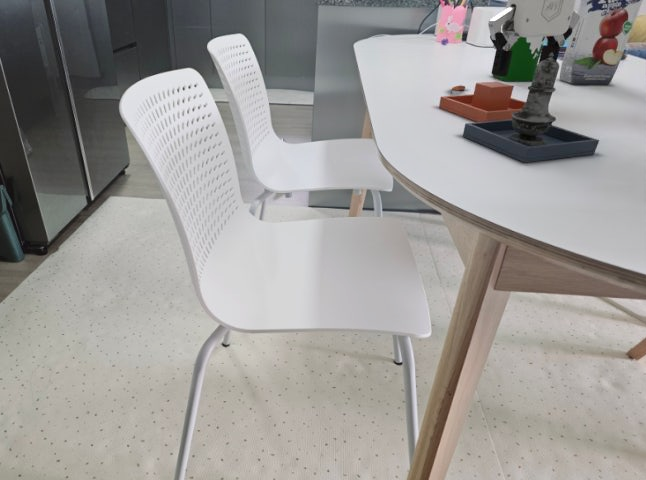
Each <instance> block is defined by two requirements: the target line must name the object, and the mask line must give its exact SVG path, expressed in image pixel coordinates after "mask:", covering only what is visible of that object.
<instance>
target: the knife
mask: <svg viewBox="0 0 646 480" xmlns="http://www.w3.org/2000/svg"><path fill="white" fill-rule="evenodd" d="M465 89H466V86H465V85H461V84H460V85H456V86H453V87H452V88H451V91H450V92H451V95H449V96H457V95H466V92H464V91H462V90H465Z"/></svg>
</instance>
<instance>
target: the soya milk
mask: <svg viewBox="0 0 646 480" xmlns="http://www.w3.org/2000/svg"><path fill="white" fill-rule="evenodd" d="M544 42H545V37H521V36H520V37H519V38H518V39H517V41H516V42H515V43H514V44H513V46H512V47H511V48H510V49H509V50H511V51H512V57H511V61H510V66H509V70H508V74H507V76H506V77H501V76H496V75H492V77H494V78H496V79H499V80H501V81H503V82H532V81H533V78H534V74H535V71H536V67H537V65H538V63H539V59H540V55H541V52H542V48H543V45H544Z"/></svg>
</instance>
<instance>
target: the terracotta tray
mask: <svg viewBox="0 0 646 480" xmlns="http://www.w3.org/2000/svg"><path fill="white" fill-rule="evenodd" d="M473 95H474V93H473V94H472V93H471V94H464V95H457V96H450V95H445V96H440V100H439V105H438V109H442V110H445V111H447V112H450V113H451V114H455V115H458V116H461V117H463V118H466V119H468V120H471V121H474V122H486V121H497V120H508V119H513V118H512V116H511V114H512V113H514V112H519V111H520V110H522V108H523V107H524V105H525V103H526V101H524V100H520V99H516V98H513V97H511V98H510V102H509V106H508V110H501V111H489V112H488V111H485V110H482V109H479V108H476V107H473V106H471V104H472V99H473Z"/></svg>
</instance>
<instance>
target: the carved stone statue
mask: <svg viewBox="0 0 646 480" xmlns="http://www.w3.org/2000/svg"><path fill="white" fill-rule="evenodd" d="M553 56H554V55H553V52H551V53H550V55H549V58H548V59H546V60H543V61H541V62H540V63H539V62H538V64H537V67H536V71H535V74H534V78H533V81H531V85H528V86H527V90H528V94H527V96H526V101H525V102H526V103H525V105H524V107H523V108H522V110H520V111H519V112H514V113H512V114H511V116H512V118H513V119H512V127H513V128H514V130H515V131H516V132H517V133H519V134H514V135H511V136H509V137H507V138H508V139H511V140H513V141H516V142H518V143H521V144H524V145H526V146H539V145H545V144H546V141H545V140H543V138H541V137H538V135H542V134H544V133H545V132H547V131H548V130H549V128H550V127H551V125H553V123H554V122H556V120H557V117H555V116H553V115H552V114H551V113H550V112H549V108H550V106H549V105H550V101H551V98H552V95H553V93H554V92H556V87H555V83H556V80H557V77H558V73H559V70H560V64H559V62H558V60H557V61H554V59H552V57H553Z"/></svg>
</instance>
